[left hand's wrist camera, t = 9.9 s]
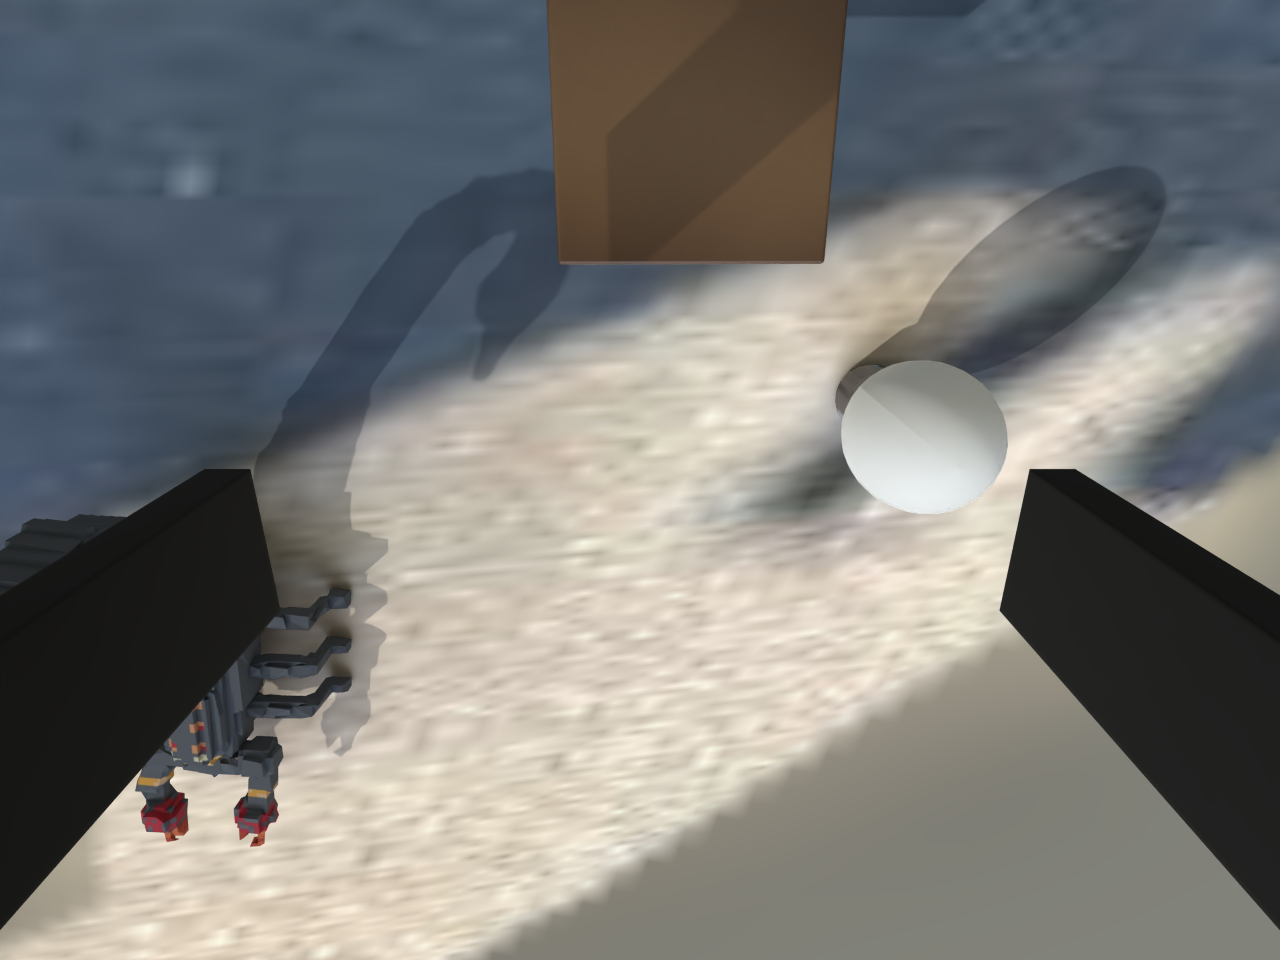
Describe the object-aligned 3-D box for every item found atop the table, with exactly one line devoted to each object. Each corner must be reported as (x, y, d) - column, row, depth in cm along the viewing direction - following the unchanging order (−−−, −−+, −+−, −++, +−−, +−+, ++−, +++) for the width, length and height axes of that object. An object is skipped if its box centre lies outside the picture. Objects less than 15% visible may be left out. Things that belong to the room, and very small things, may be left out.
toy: (349, 450, 40) (131, 638, 23) (352, 811, 49) (200, 1133, 32) (103, 418, 39) (-313, 586, 22) (154, 790, 49) (-107, 1107, 32)
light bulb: (786, 409, 39) (838, 483, 29) (873, 309, 37) (963, 351, 27) (875, 479, 40) (955, 574, 30) (963, 387, 38) (1081, 454, 28)
